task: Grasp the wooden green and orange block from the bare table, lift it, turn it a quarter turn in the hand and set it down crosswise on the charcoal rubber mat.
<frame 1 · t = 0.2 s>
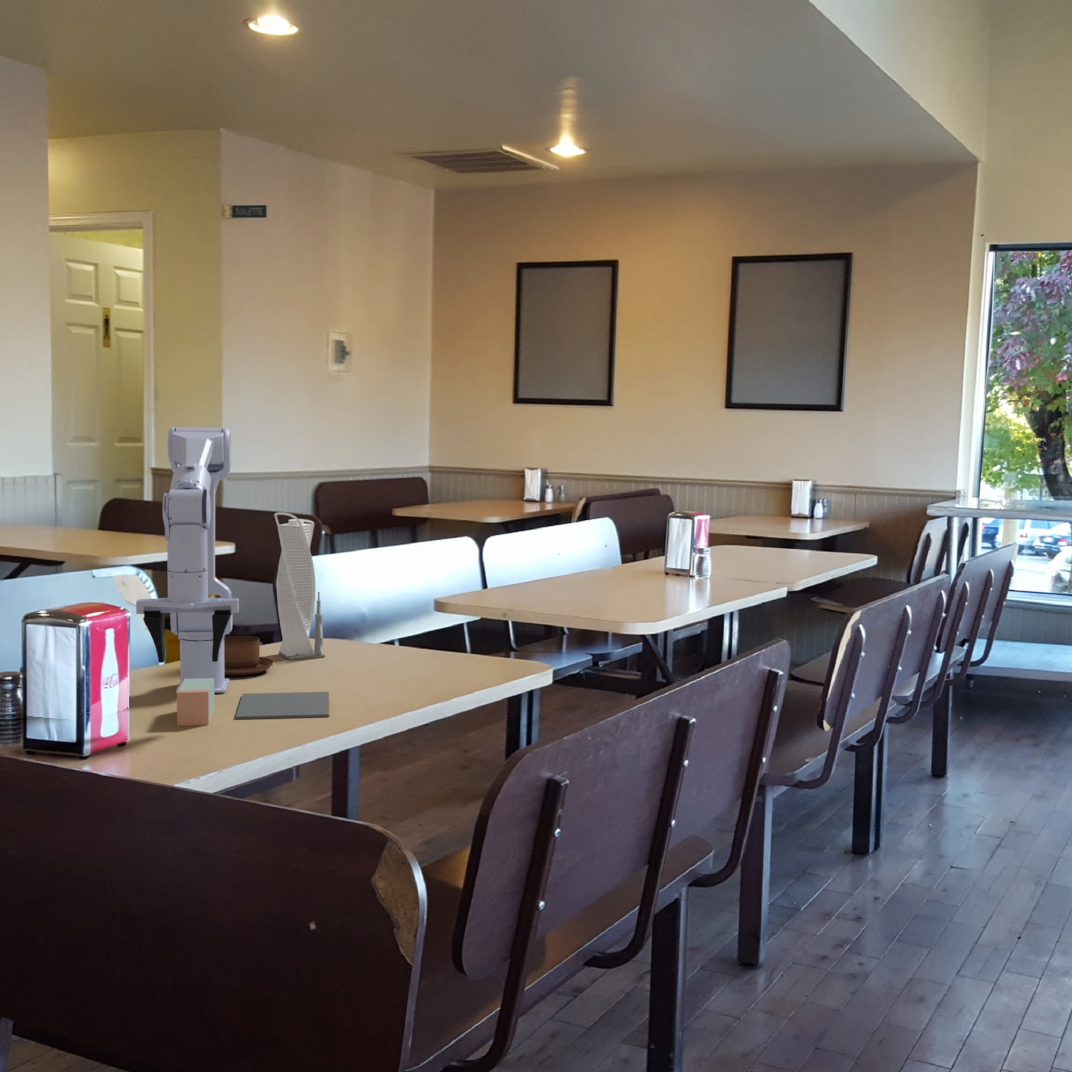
hand: (188, 660, 182), 10 cm above the table, tool pointing down, fingers open, 7 cm apart
green and orange block: (196, 717, 187), on the table
skyscraper: (297, 656, 237), on the table
cup and saucer: (239, 674, 221), on the table
rubber mat: (284, 706, 195), on the table
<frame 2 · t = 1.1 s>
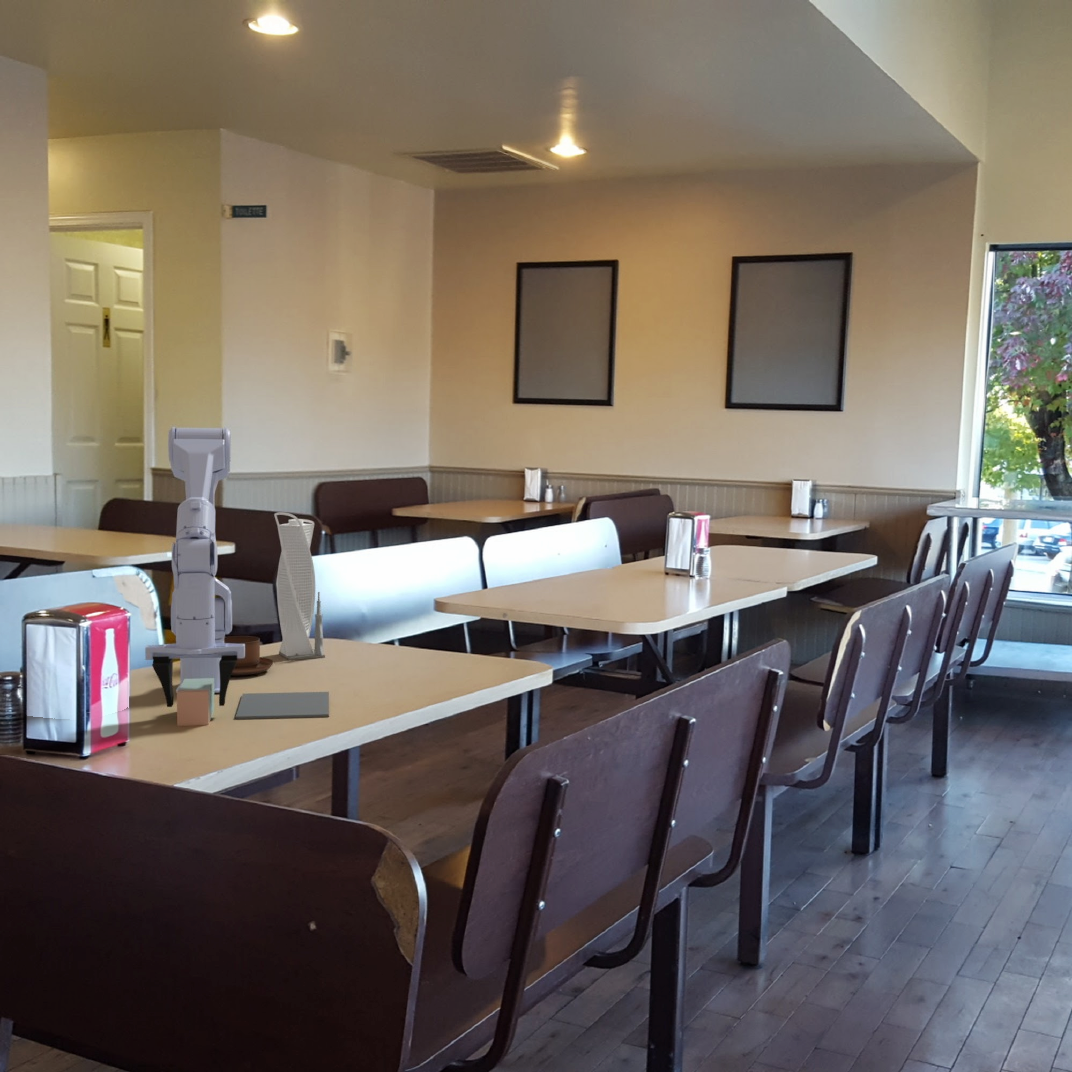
hand: (196, 705, 187), 2 cm above the table, tool pointing down, fingers open, 7 cm apart
nothing on the table moved.
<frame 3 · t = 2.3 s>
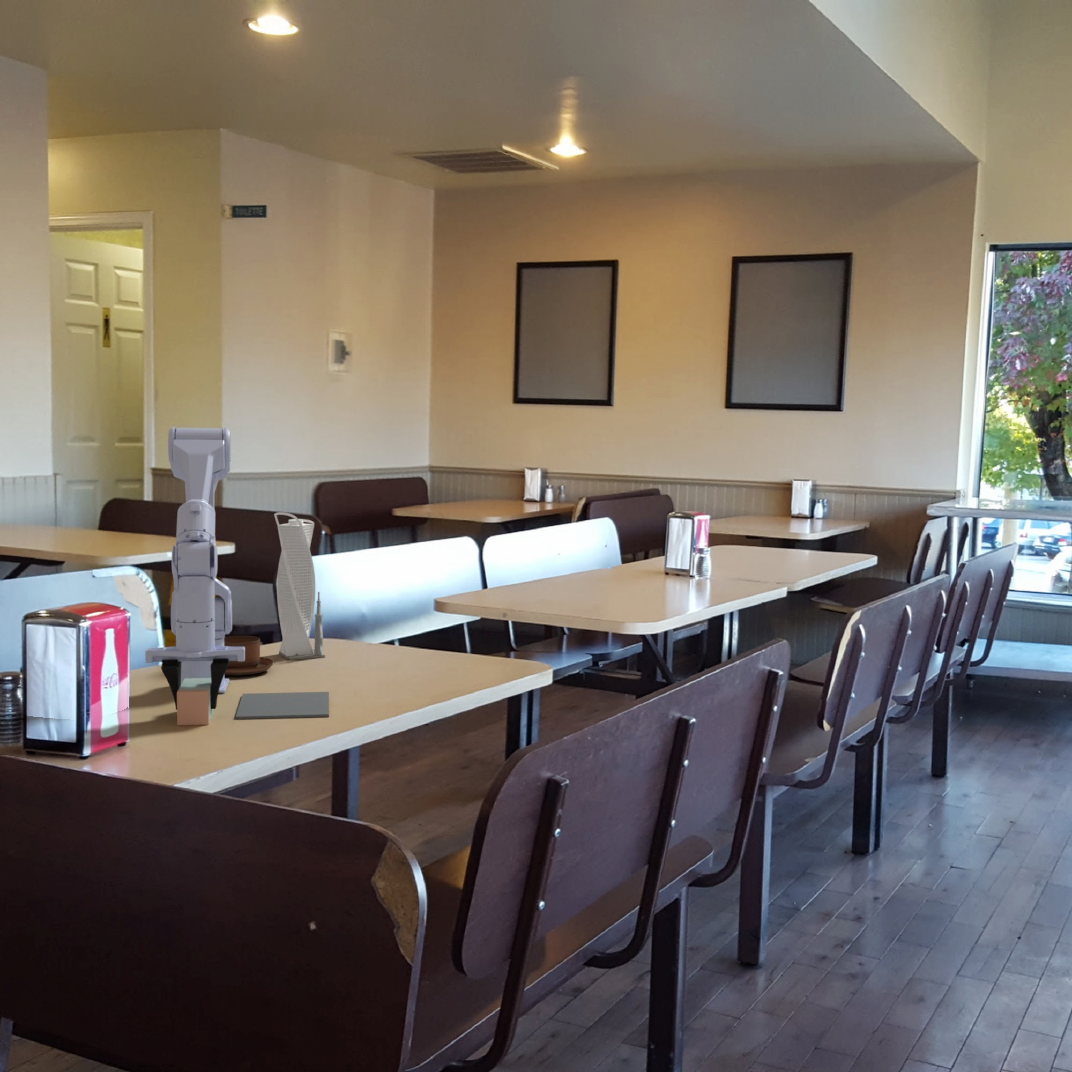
hand: (196, 708, 187), 1 cm above the table, tool pointing down, fingers closed on green and orange block, 4 cm apart
green and orange block: (196, 717, 187), on the table, touching gripper
everything else where it was.
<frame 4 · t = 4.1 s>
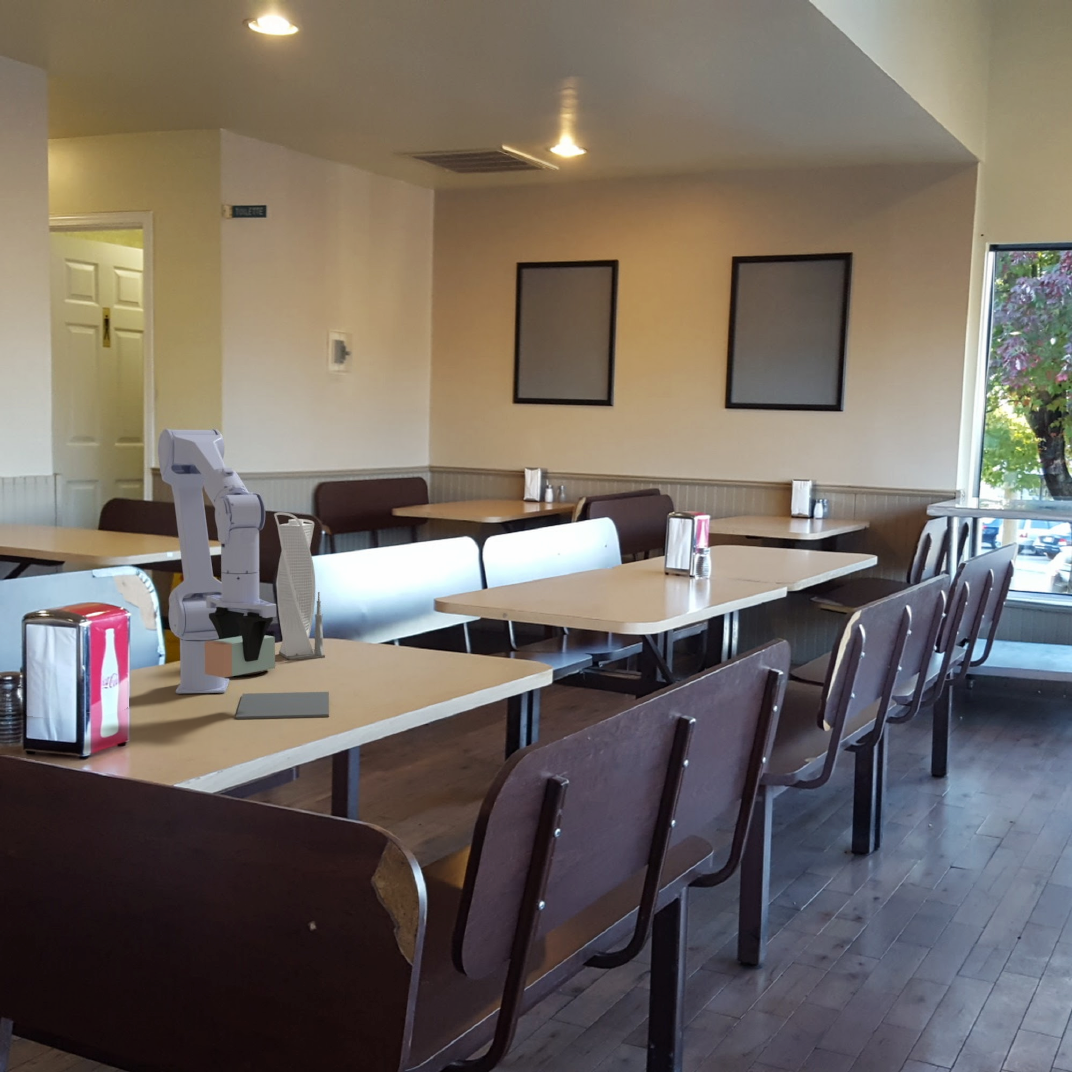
hand: (240, 658, 190), 8 cm above the table, tool pointing down, fingers closed on green and orange block, 4 cm apart
green and orange block: (240, 671, 190), point 6 cm above the table, touching gripper
everything else where it was.
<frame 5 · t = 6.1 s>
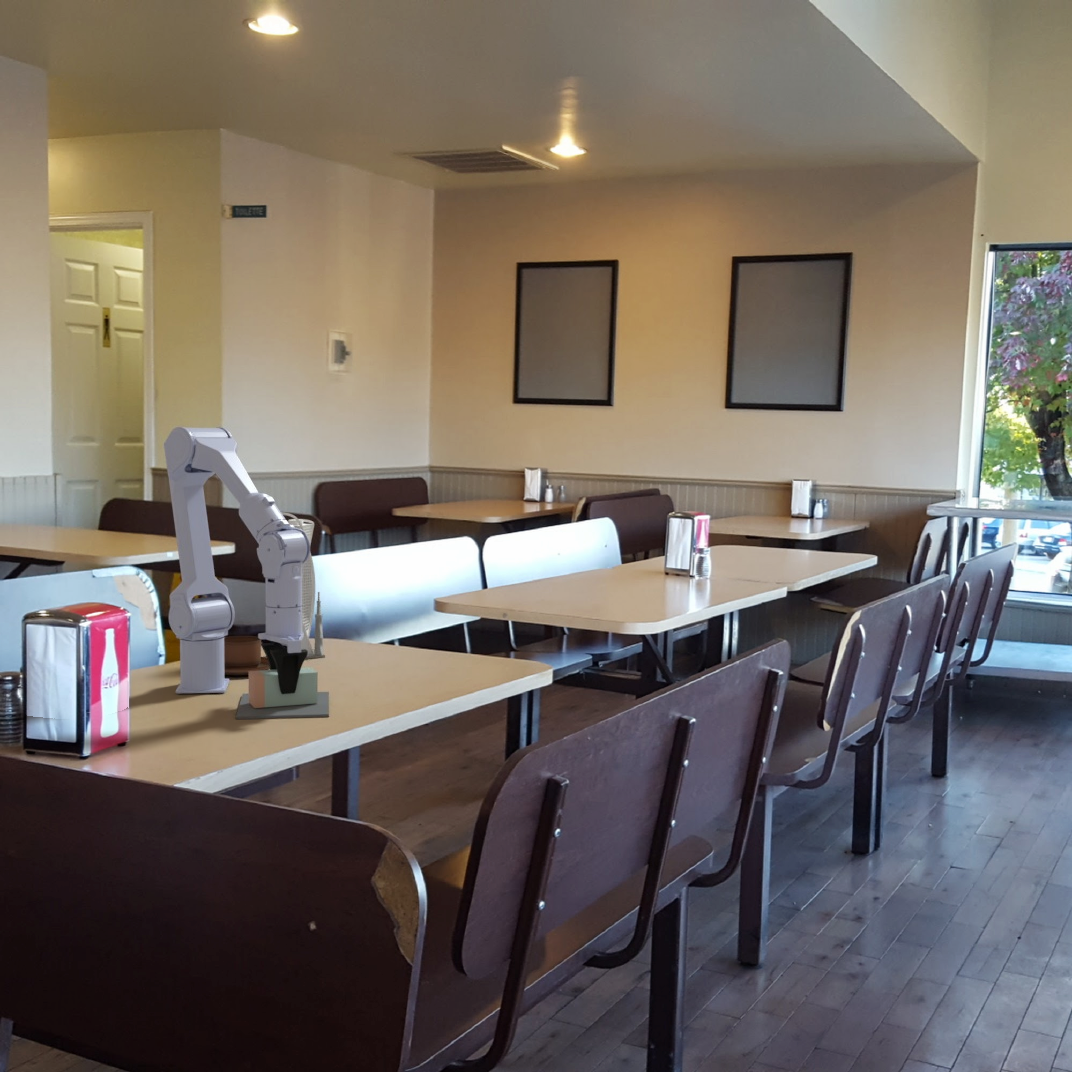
hand: (284, 690, 195), 3 cm above the table, tool pointing down, fingers closed on green and orange block, 4 cm apart
green and orange block: (283, 702, 195), point 1 cm above the table, touching gripper
everything else where it was.
when the fingers open (3 cm above the table, at t = 6.6 s): green and orange block stays where it is, resting on rubber mat.
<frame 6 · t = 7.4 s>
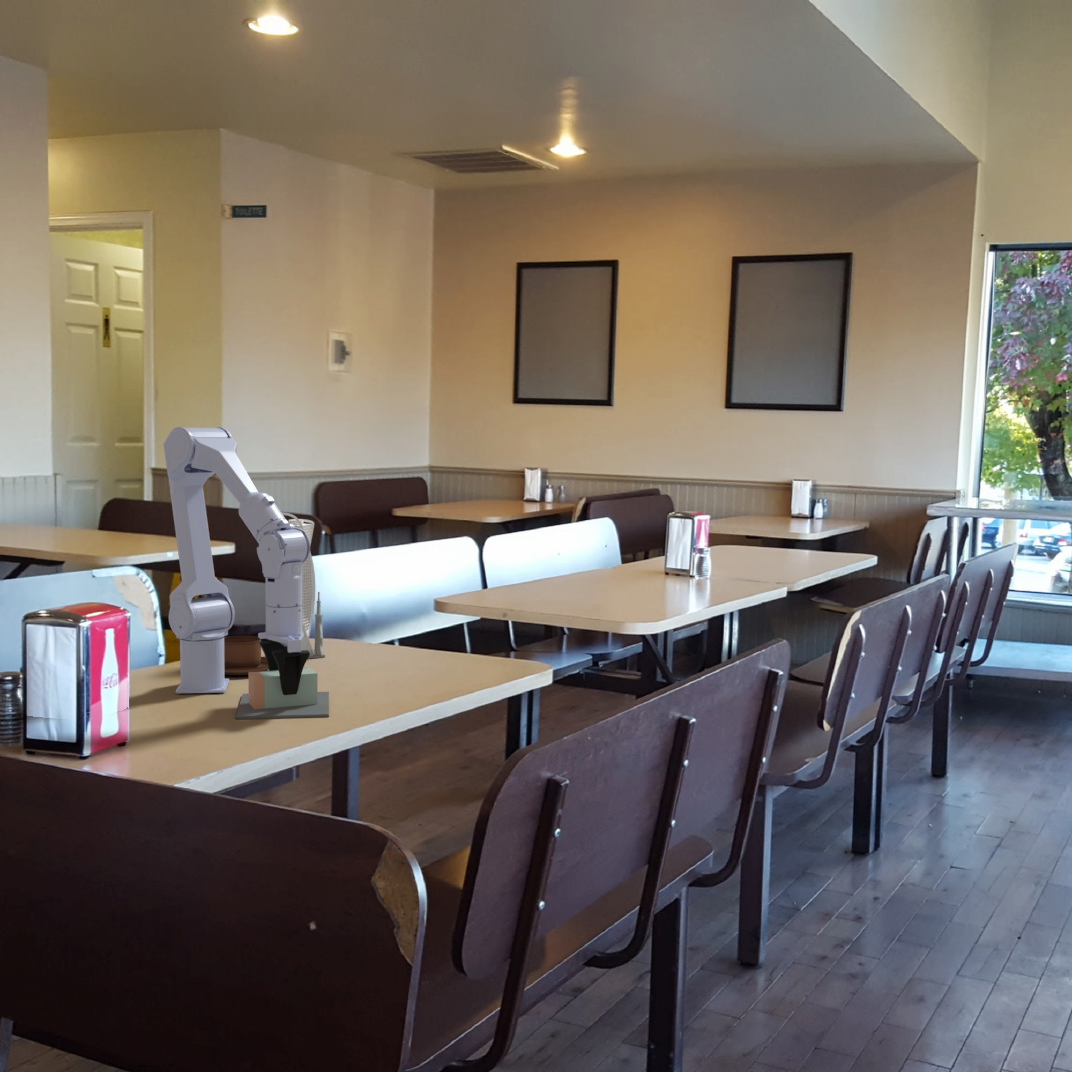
hand: (284, 689, 195), 3 cm above the table, tool pointing down, fingers open, 7 cm apart
green and orange block: (283, 703, 195), resting on rubber mat
everything else where it was.
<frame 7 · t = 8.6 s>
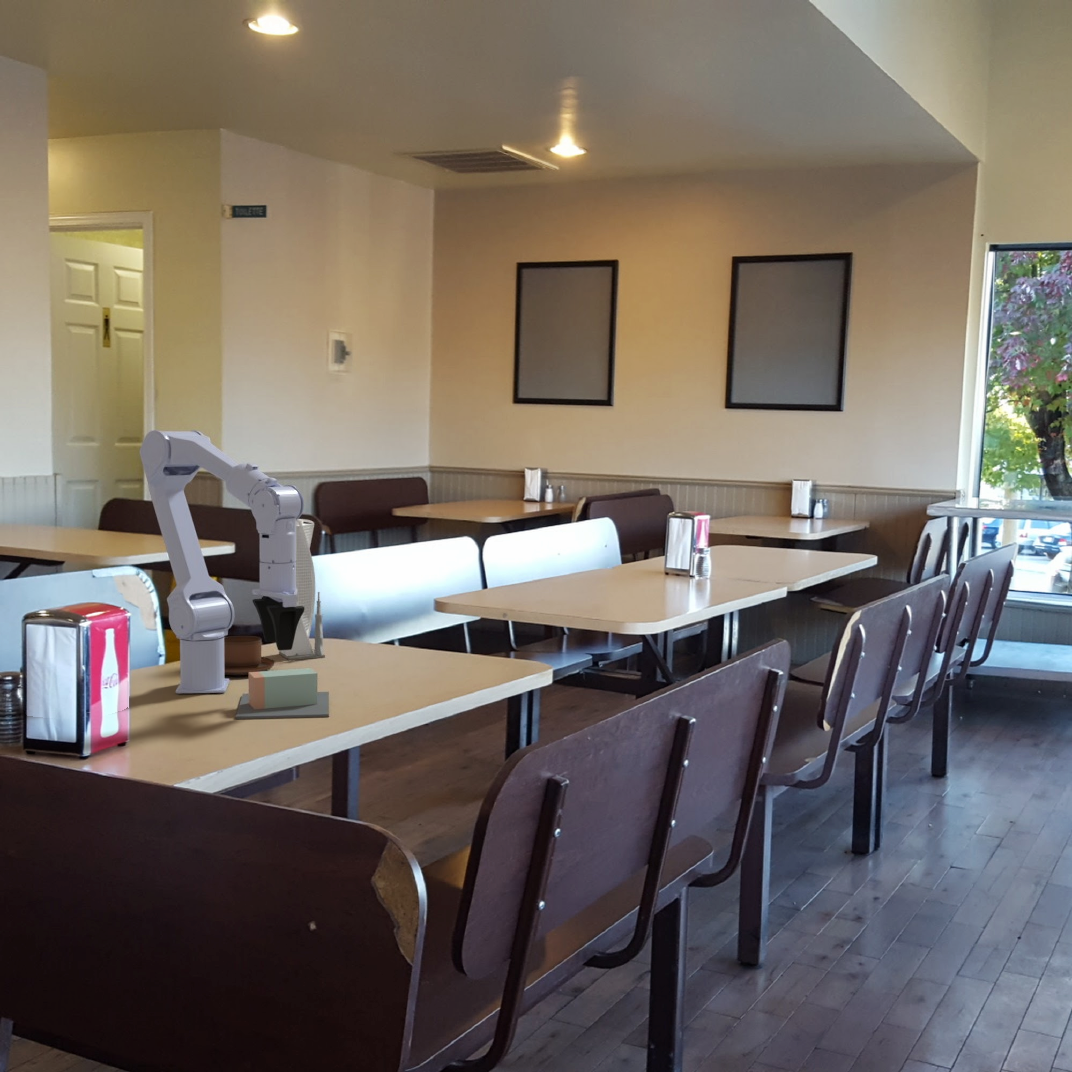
hand: (278, 645, 196), 9 cm above the table, tool pointing down, fingers open, 7 cm apart
nothing on the table moved.
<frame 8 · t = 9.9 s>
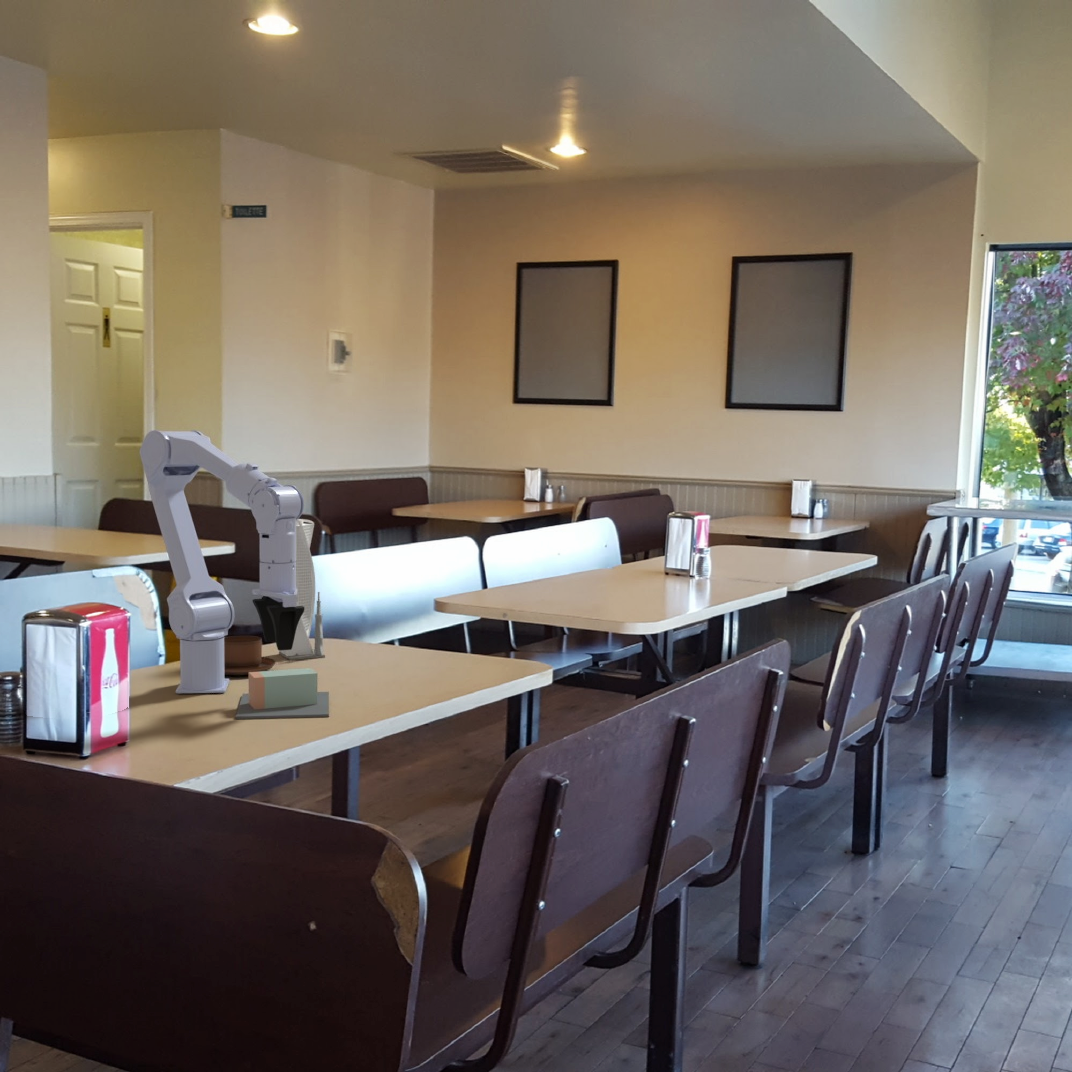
hand: (278, 645, 196), 9 cm above the table, tool pointing down, fingers open, 7 cm apart
nothing on the table moved.
at the end: green and orange block inside the target area on the rubber mat (0.2 cm from its centre), point 0.4 cm above the rubber mat's base; green and orange block tilted 0°; the gripper is holding nothing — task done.
